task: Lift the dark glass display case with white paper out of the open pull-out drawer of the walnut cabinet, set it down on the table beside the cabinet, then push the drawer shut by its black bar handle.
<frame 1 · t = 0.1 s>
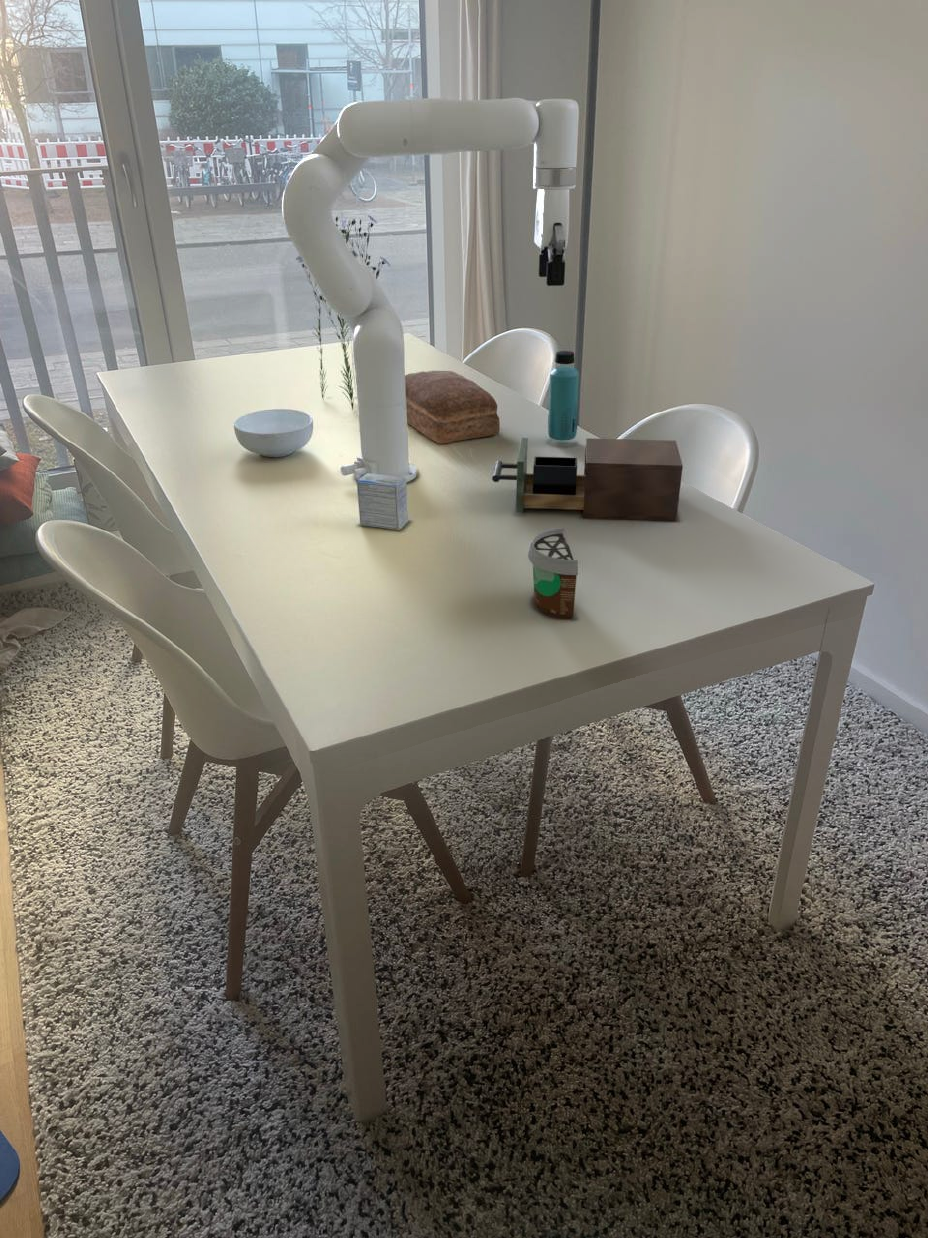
hand: (551, 280, 169), 37 cm above the table, tool pointing down, fingers open, 9 cm apart
drawer: (551, 475, 169), point 5 cm above the table, slide at 11.0 cm, touching dark glass display case
beverage bottle: (561, 443, 202), on the table
cereal bowl: (276, 452, 199), on the table
bread: (443, 424, 215), on the table
wildflower: (354, 404, 230), on the table
dark glass display case: (554, 494, 171), point 2 cm above the table, touching drawer
cabinet: (625, 505, 171), on the table
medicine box: (384, 524, 164), on the table
food container: (547, 605, 137), on the table
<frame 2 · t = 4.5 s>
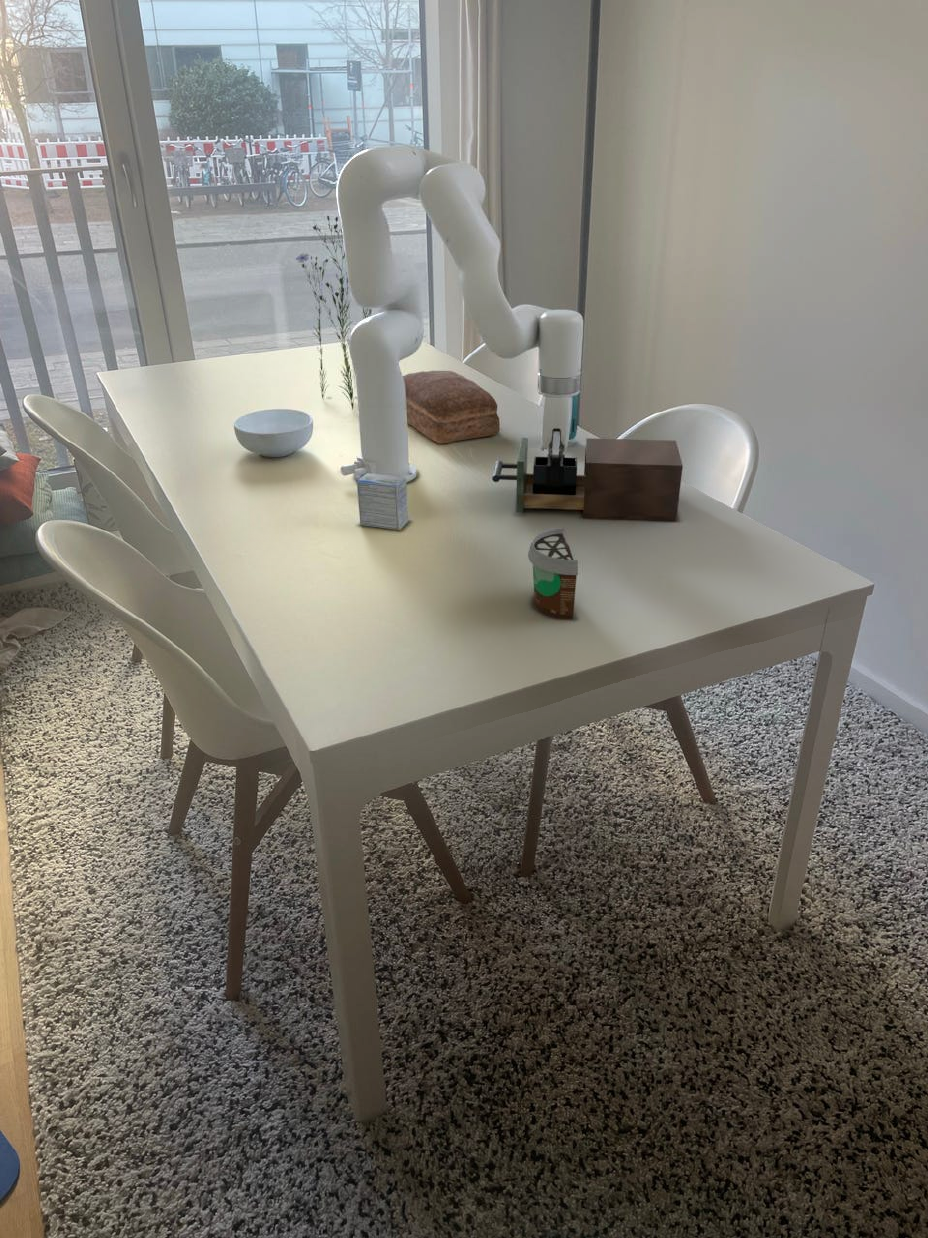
hand: (554, 479, 170), 5 cm above the table, tool pointing down, fingers closed on dark glass display case, 5 cm apart
dark glass display case: (554, 494, 171), point 2 cm above the table, touching drawer, gripper
everything else where it was.
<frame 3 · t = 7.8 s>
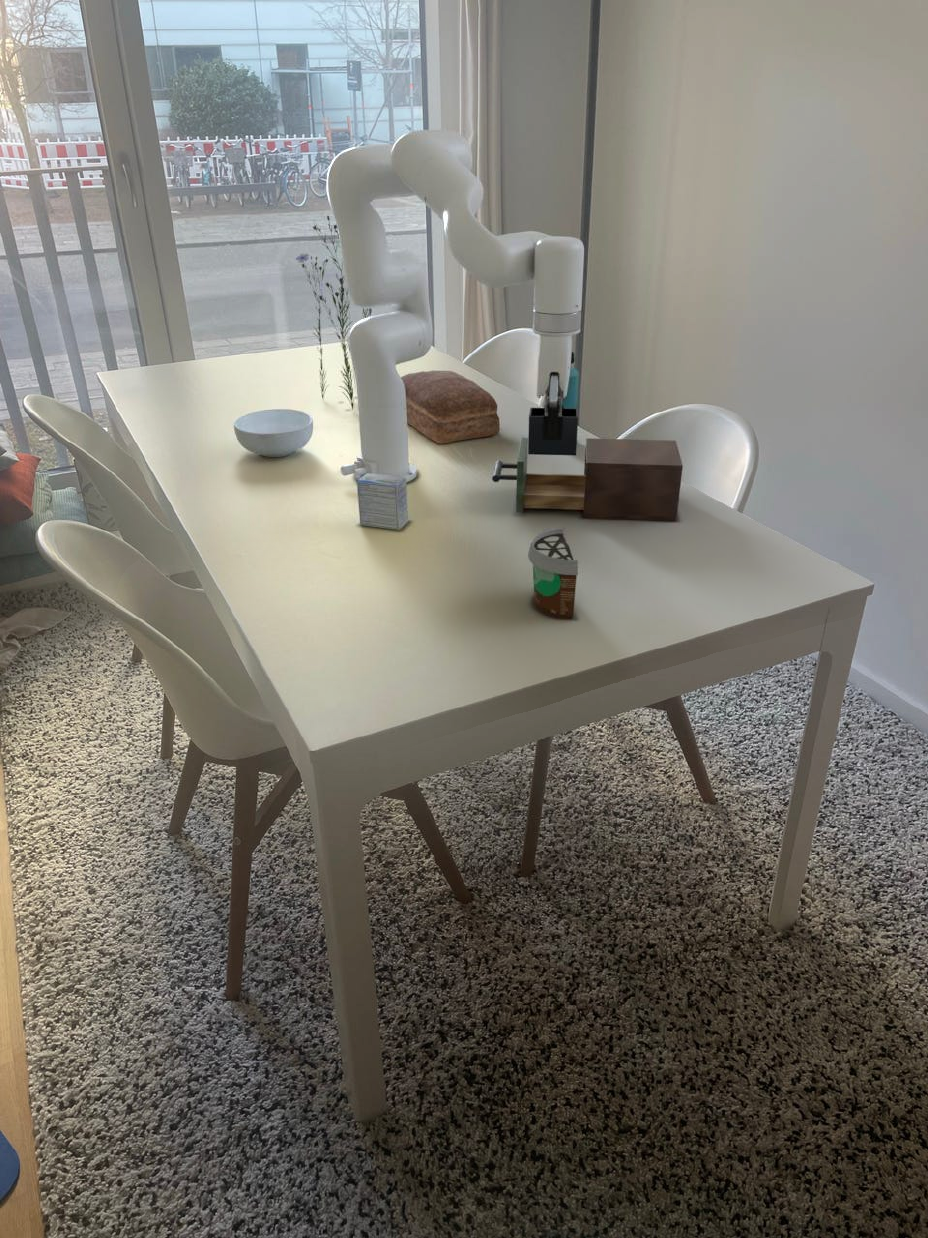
hand: (552, 432, 151), 18 cm above the table, tool pointing down, fingers closed on dark glass display case, 5 cm apart
drawer: (551, 475, 169), point 5 cm above the table, slide at 11.0 cm
dark glass display case: (552, 449, 153), point 15 cm above the table, touching gripper
everything else where it was.
when the fingers open (3 cm above the table, at t = 11.5 s): dark glass display case stays where it is, on the table.
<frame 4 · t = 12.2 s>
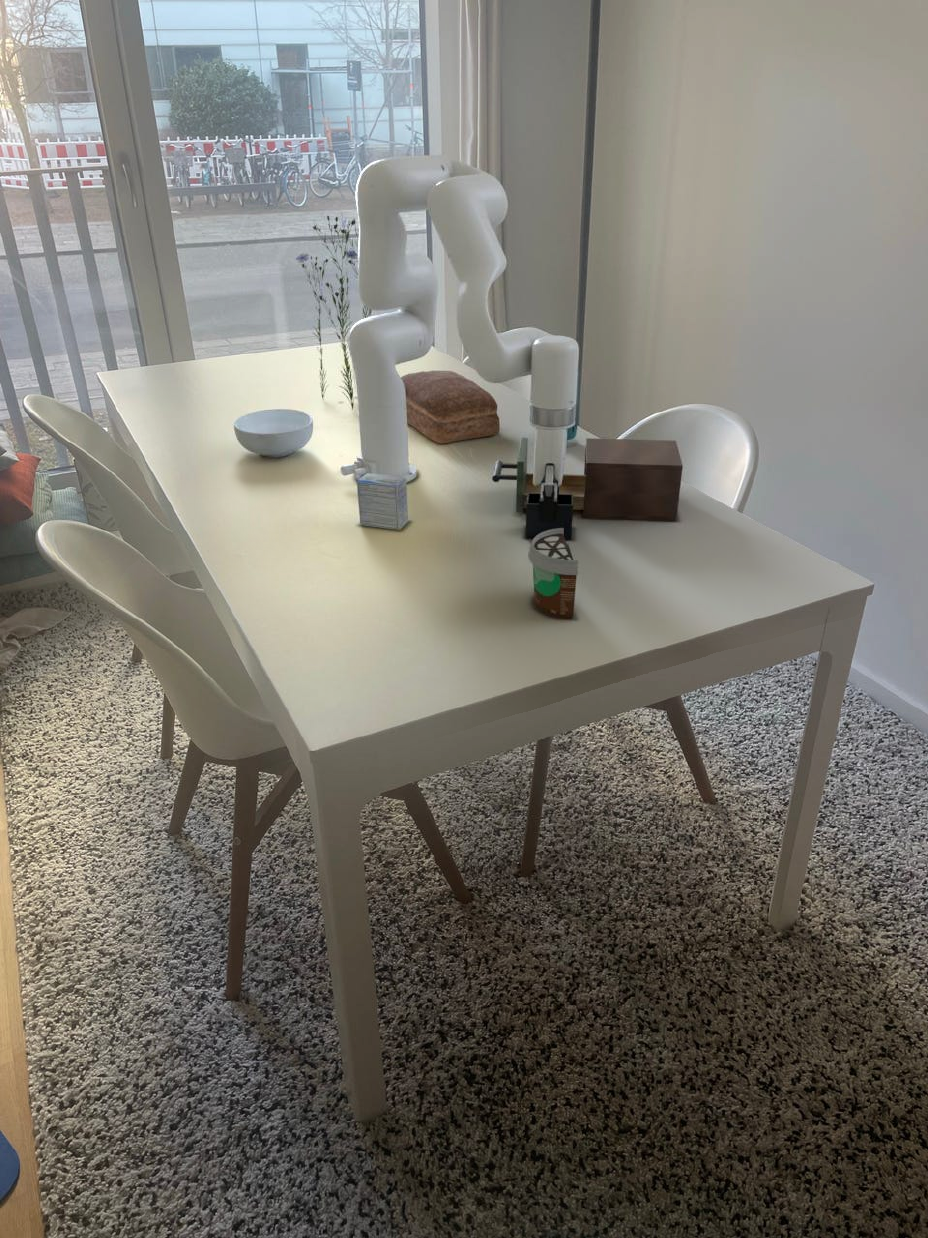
hand: (548, 510, 158), 4 cm above the table, tool pointing down, fingers open, 9 cm apart
dark glass display case: (548, 533, 160), on the table
everything else where it was.
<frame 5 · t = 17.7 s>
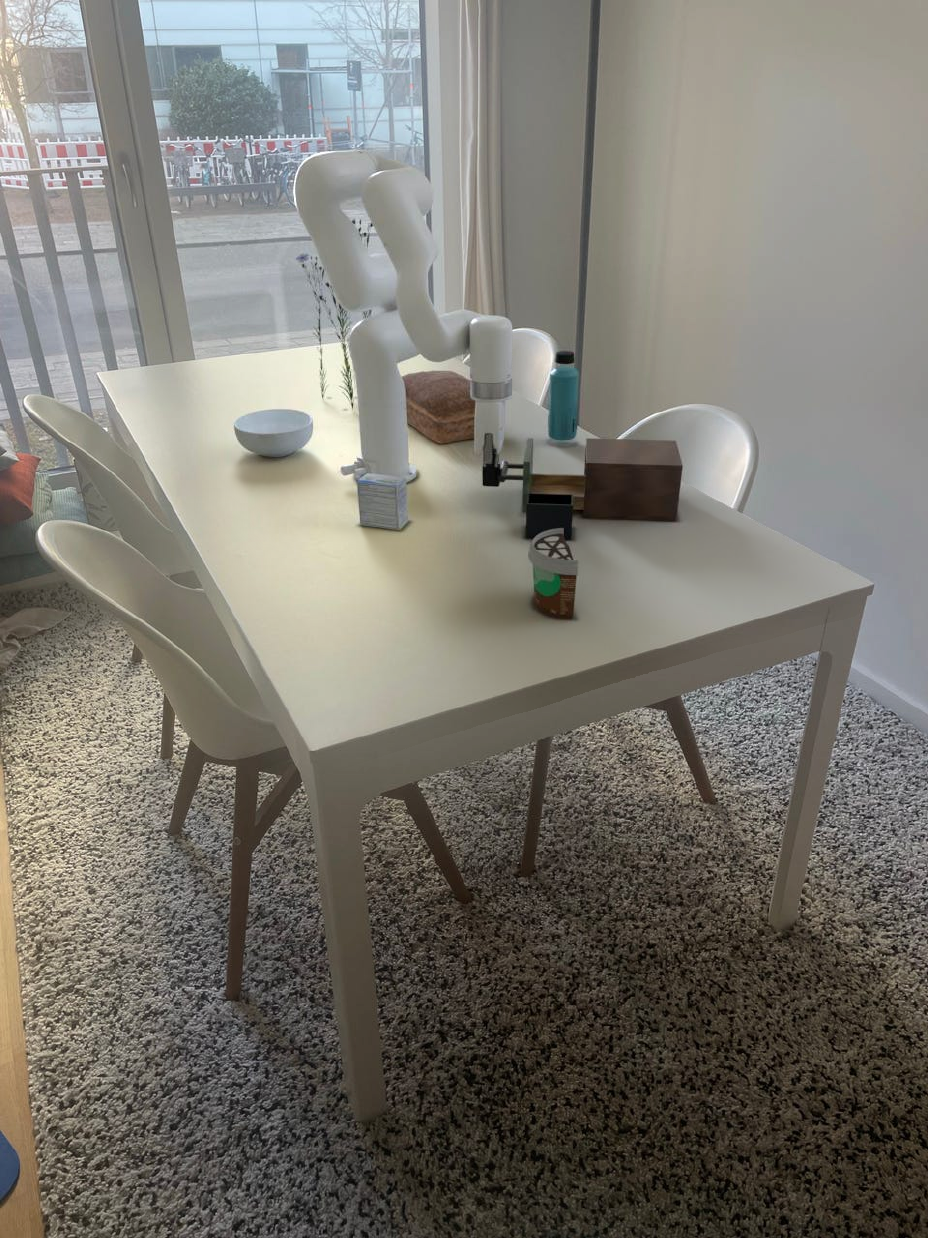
hand: (491, 484, 171), 3 cm above the table, tool pointing down, fingers closed
drawer: (557, 475, 169), point 5 cm above the table, slide at 9.9 cm, touching gripper
everything else where it was.
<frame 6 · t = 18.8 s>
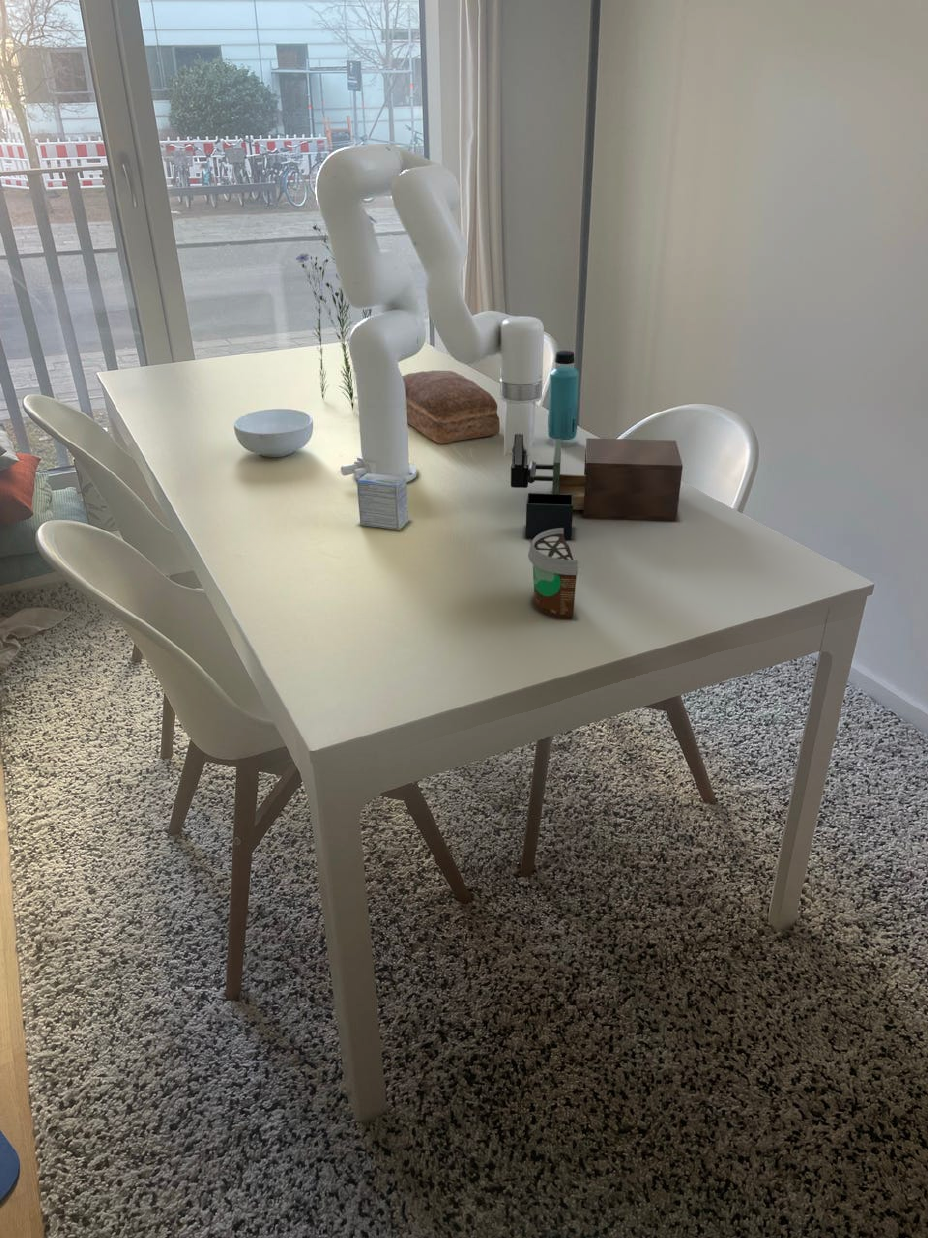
hand: (519, 485, 171), 3 cm above the table, tool pointing down, fingers closed
drawer: (586, 476, 169), point 5 cm above the table, slide at 4.5 cm, touching gripper
everything else where it was.
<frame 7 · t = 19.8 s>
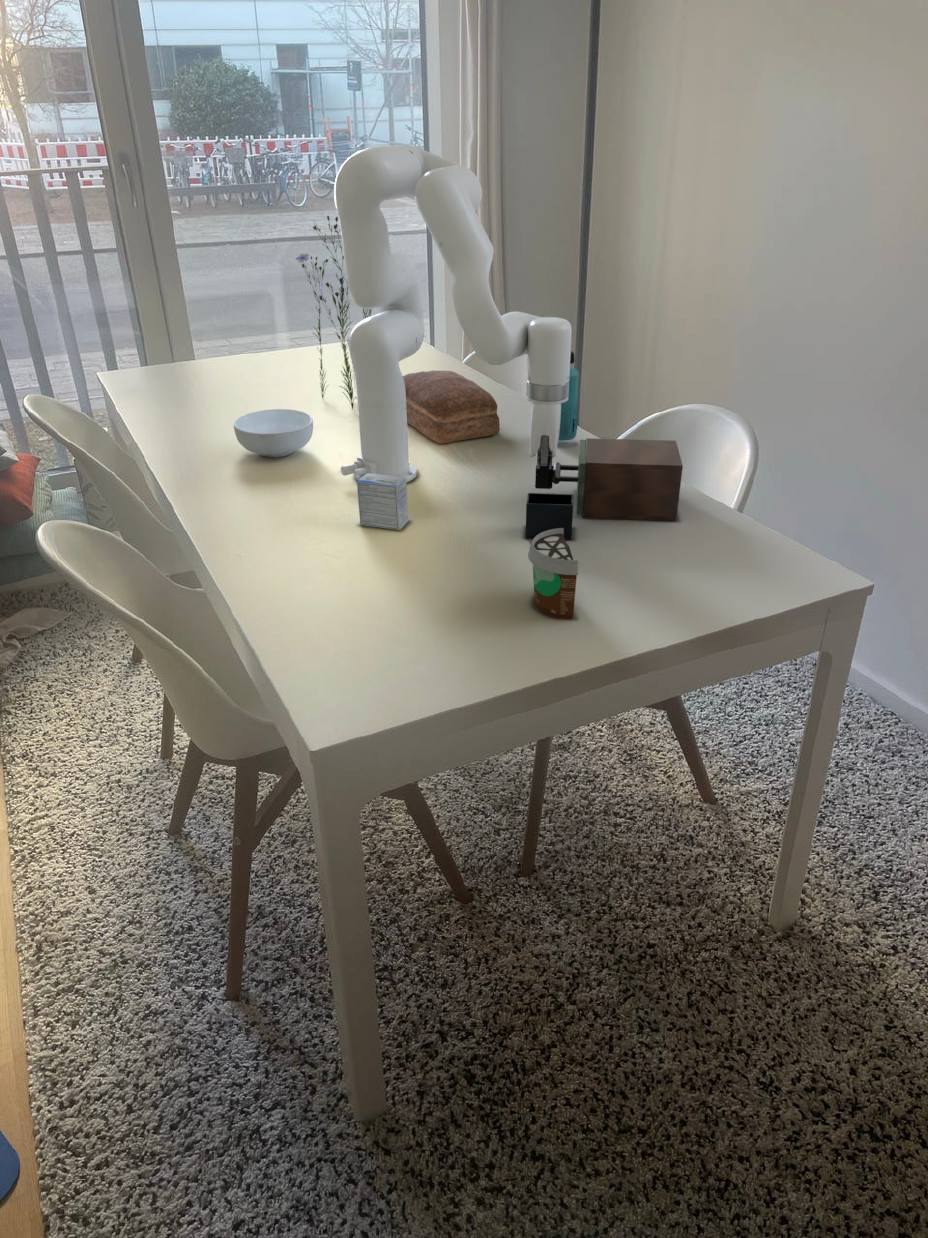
hand: (543, 486, 171), 3 cm above the table, tool pointing down, fingers closed
drawer: (611, 477, 168), point 5 cm above the table, slide at -0.1 cm, touching gripper
everything else where it was.
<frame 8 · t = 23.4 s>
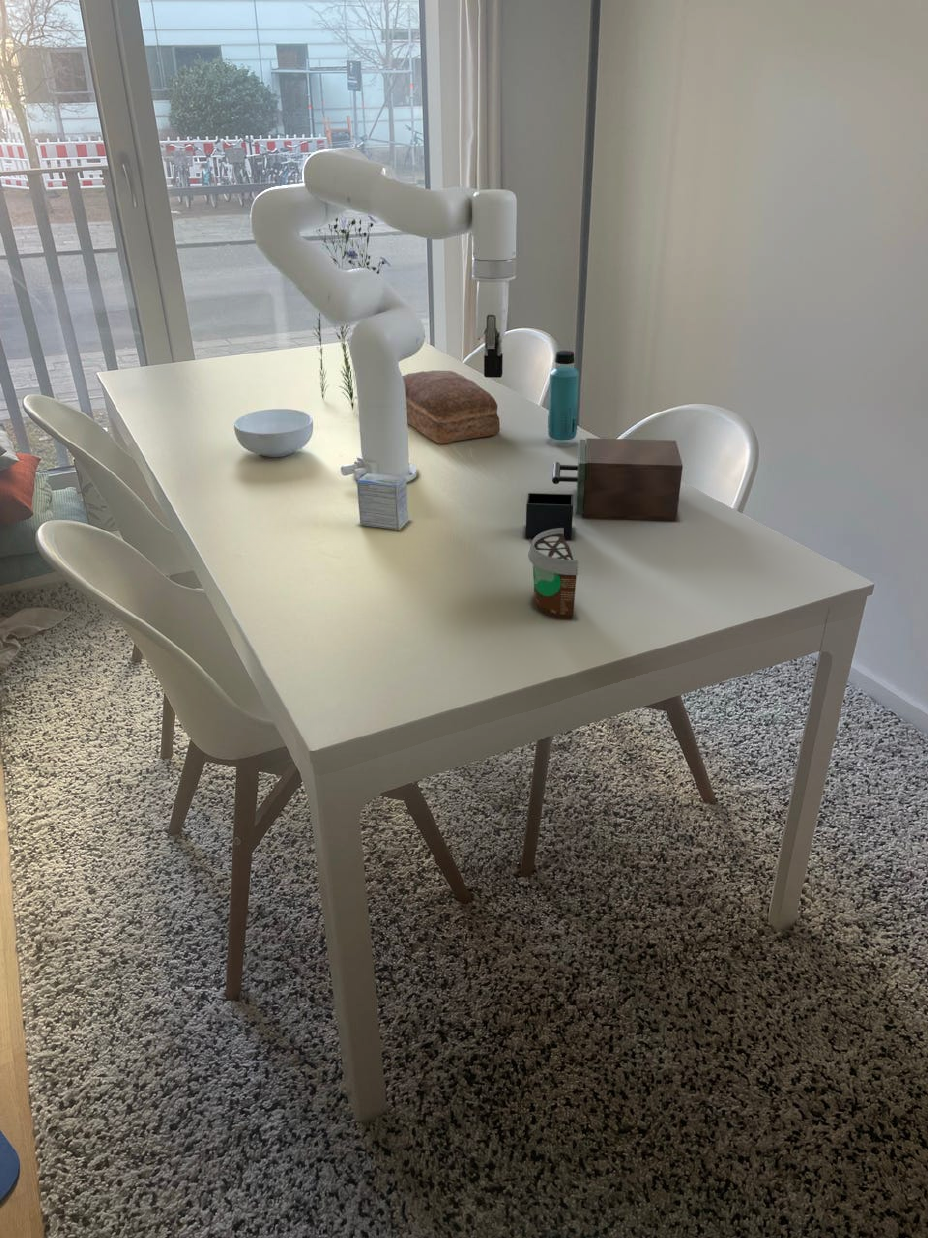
hand: (493, 376, 164), 23 cm above the table, tool pointing down, fingers closed
drawer: (610, 477, 168), point 5 cm above the table, slide at 0.0 cm
everything else where it was.
at the end: dark glass display case inside the target area (0.1 cm from its centre), on the table; dark glass display case tilted 0°; drawer slide at 0.0 cm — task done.
